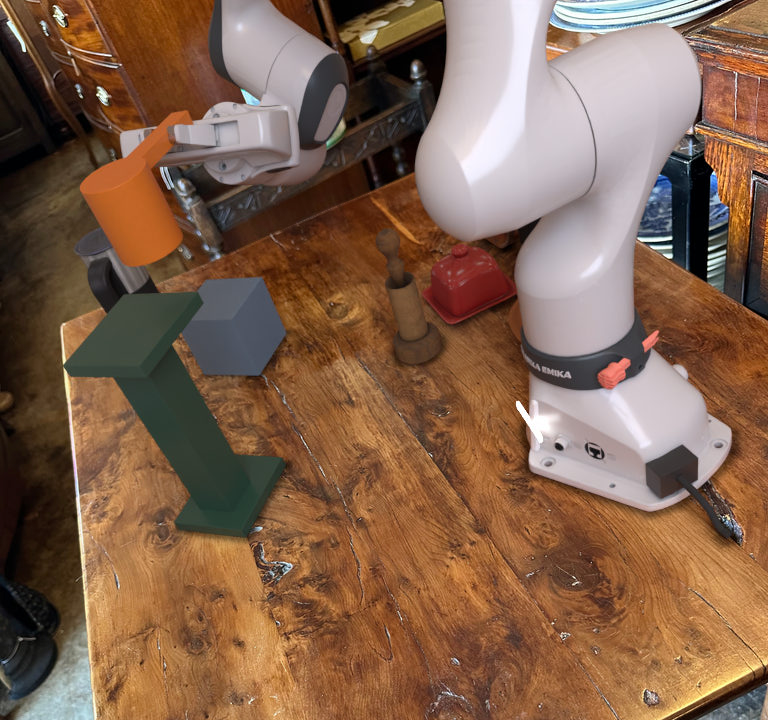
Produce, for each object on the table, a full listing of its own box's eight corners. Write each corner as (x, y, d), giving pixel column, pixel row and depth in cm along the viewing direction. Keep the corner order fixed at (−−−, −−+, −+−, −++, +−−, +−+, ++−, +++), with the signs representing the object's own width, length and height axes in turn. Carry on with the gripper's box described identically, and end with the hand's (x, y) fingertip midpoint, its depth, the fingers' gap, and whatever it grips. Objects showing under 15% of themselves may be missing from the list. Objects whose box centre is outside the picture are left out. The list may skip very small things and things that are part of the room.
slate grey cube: (232, 333, 125) (206, 279, 118) (286, 333, 121) (262, 276, 114) (203, 375, 119) (173, 320, 112) (259, 375, 115) (231, 319, 108)
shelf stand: (222, 460, 104) (123, 294, 86) (286, 465, 100) (198, 291, 82) (178, 530, 98) (61, 365, 79) (246, 538, 93) (139, 366, 75)
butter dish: (419, 298, 117) (405, 247, 111) (489, 266, 118) (478, 213, 112) (450, 334, 109) (437, 281, 103) (525, 299, 110) (516, 245, 104)
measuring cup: (185, 183, 91) (152, 113, 86) (235, 177, 88) (205, 104, 83) (109, 268, 82) (66, 196, 76) (162, 265, 79) (121, 190, 73)
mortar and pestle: (438, 362, 106) (405, 242, 93) (392, 366, 108) (354, 250, 95) (445, 331, 110) (414, 213, 97) (401, 336, 112) (365, 221, 99)
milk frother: (117, 312, 140) (72, 238, 130) (199, 277, 141) (160, 200, 130) (123, 352, 130) (74, 275, 120) (211, 315, 131) (170, 234, 120)
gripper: (162, 125, 97) (78, 114, 85) (306, 104, 88) (235, 88, 77) (170, 181, 99) (89, 178, 87) (312, 165, 90) (244, 159, 79)
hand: (159, 136), depth 82 cm, fingers closed on measuring cup, 2 cm apart
